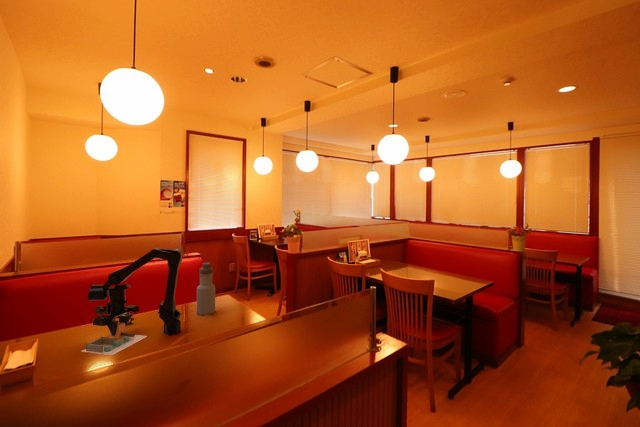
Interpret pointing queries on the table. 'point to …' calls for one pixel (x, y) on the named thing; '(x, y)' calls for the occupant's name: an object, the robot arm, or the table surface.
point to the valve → (130, 320)
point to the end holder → (99, 344)
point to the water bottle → (206, 291)
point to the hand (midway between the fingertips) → (117, 333)
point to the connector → (121, 331)
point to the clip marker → (123, 341)
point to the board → (121, 347)
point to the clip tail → (108, 348)
